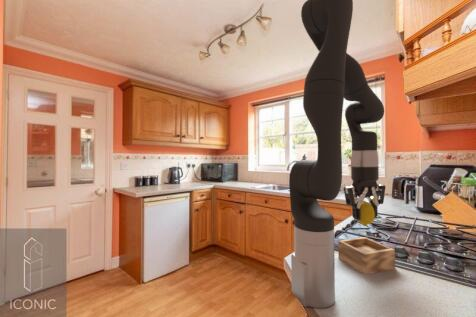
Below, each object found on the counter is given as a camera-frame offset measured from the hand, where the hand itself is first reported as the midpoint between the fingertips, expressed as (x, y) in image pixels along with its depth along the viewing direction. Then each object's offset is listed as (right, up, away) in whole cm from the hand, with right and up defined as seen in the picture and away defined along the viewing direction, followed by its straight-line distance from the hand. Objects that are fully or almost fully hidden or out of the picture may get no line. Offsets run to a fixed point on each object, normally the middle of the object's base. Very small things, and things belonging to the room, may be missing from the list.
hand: (365, 218), depth 72 cm
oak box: (0, -14, 0) cm, 14 cm away
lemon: (0, -3, 0) cm, 3 cm away
